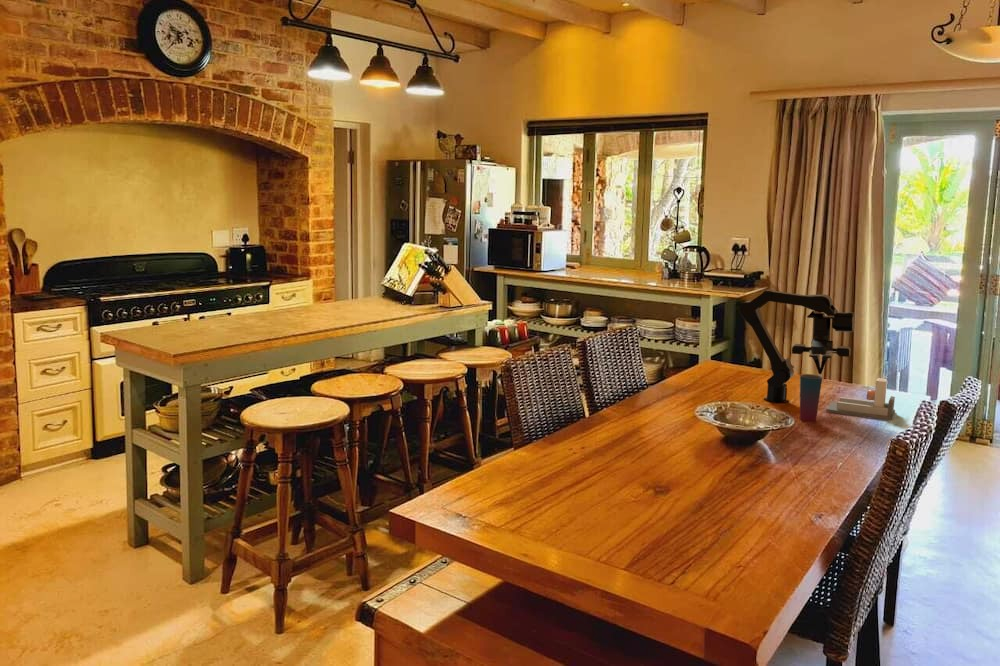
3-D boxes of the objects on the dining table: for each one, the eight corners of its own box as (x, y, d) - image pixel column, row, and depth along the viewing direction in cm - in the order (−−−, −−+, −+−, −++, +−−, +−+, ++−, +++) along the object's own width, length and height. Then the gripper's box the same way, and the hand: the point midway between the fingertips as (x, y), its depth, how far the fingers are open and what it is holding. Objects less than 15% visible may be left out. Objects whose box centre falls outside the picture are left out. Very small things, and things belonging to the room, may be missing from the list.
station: (826, 411, 265) (827, 395, 264) (831, 404, 275) (832, 388, 274) (891, 420, 255) (893, 403, 254) (894, 412, 265) (896, 395, 264)
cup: (795, 421, 254) (799, 377, 251) (798, 416, 260) (801, 373, 257) (817, 423, 251) (821, 379, 248) (819, 418, 257) (823, 375, 254)
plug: (865, 411, 262) (867, 379, 260) (866, 407, 266) (869, 376, 264) (882, 413, 259) (885, 381, 257) (884, 409, 263) (887, 378, 261)
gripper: (790, 332, 265) (789, 376, 267) (848, 335, 256) (847, 380, 259) (794, 328, 275) (793, 370, 277) (851, 330, 266) (849, 374, 268)
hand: (820, 374), depth 270 cm, fingers closed
